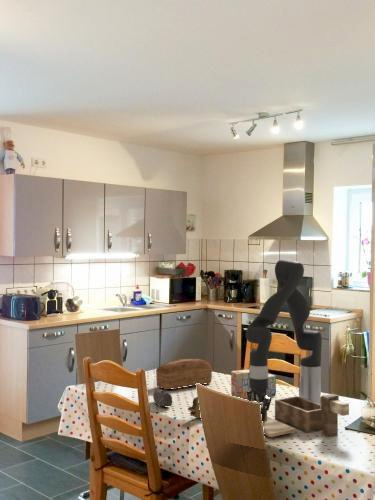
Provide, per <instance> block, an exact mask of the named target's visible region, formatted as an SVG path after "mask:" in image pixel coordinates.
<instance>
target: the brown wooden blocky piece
mask: <svg viewBox="0 0 375 500" xmlns="http://www.w3.org/2000/svg"><path fill="white" fill-rule="evenodd" d="M329 399H336V400H339V395H338V394H334V393H330V394H324V395H321V408H320V404H318V403H315V402H312V401H309V400H306V399H304V398H301V397H299V395H298V396H297V395H296V396H292V397H285V398H279V399H274V420H276V421H279V422H281V423H283V424H286V425H288V426H290V427H293V428H295V429H296V430H300V431H302V432H303V433H306V434H309V433H313V432H318V431H322V432H321V435H322V436H324V437H326V438H330V437H335V436H338V435H339V434H338V431H339V429H338V428H339V424H338V422H339V421H338V418H339V417H338V415H339V414H336V413H334V412H331V411H329ZM339 401H340V400H339Z"/></svg>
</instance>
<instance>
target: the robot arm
mask: <svg viewBox="0 0 375 500" xmlns="http://www.w3.org/2000/svg"><path fill="white" fill-rule="evenodd" d="M274 275H275V279H276V281H277V283H278V285H279V288H280V289H279V290H277V291H276V292H275V293H274V294H272V295H271V296H270V297H268V299H266V301H265V302H264V304H263V306H262V308H261V310H260V312H259V314H258V315H257V316H256V317H255V318H254V319H253V321H251V322H250V324H249V325H248V326H247V328H246V332H245V338H246V340H247V341H248V342H249V343H252V344H256V345H257V348H255V349H251V351H249V369H248V370H249V387H250V388H251V391H247V397H248V398H247V401H248V400H249V401H254V402H258V403H260V405H261V406H263V407H261V414H262V421H264V420H265V411H267V412H268V411H269V409H270V406H271V401H272V397H269V396H267V393H266V389H267V388H268V374H269V367H268V361H269V360H268V358H269V357H268V355H269V351H270V348H271V347H270V346H271V345H272V340H273V339H272V338H273V337H272V336H273V335H272V331H271V330H270V328H268V327H270V326H273V325H274V324H275V322H276V321H277V318H278V317H279V315H280V313H281V310H282V308H283V307H284V305H285V304H286V308H287V310H288V313H289V317H290V319H291V323H292V327H293V331H294V336H295V341H296V345H297V347H298V349H299V350H302V351H310V352H311V355H309V356H304V357H302V358H300V360H299V361H300V362H299V363H300V365H299V366H300V369H299V370H300V372H299V375H300V377H299V378H300V379H299V381H298V397H301V398H304V399H306V400H309V401H312V402H315V403H318V404H320V397H321V396H322V390H321V389H322V388H321V387H322V381H321V380H322V379H321V377H322V375H321V374H322V371H321V369H322V367H321V365H322V364H321V363H322V361H321V360H322V345H323V338H322V337H323V336H322V333H321V331H319V330H310V329H309V330H308V329H305V328H304V325H305V323H306V322H307V320H308V318H309V317H310V314H311V308H310V305H309V302H308V299H307V297H306V295H304V293H303V292H302V291H301V290H300V289H299V288H298V286H299V284H300V283H301V281H302V279H303V277H304V275H305V267H304V265H303V264H302V262H299V261H293V260H288V259H280V260H278V261H276V264H275V265H274ZM249 401H248V402H249Z"/></svg>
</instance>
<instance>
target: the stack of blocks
mask: <svg viewBox="0 0 375 500" xmlns="http://www.w3.org/2000/svg"><path fill="white" fill-rule="evenodd" d="M230 386H231V387H230V392H231V393H230V394H231V395H232V396H236V397H240V398H242V399H248V397H247V391H251V388H250V387H249V369H239V370H231V371H230ZM266 393H267V395H269V396H273V395H272V394H276V395H277V376H276V375H275V374H271V373H268V388H267V389H266ZM232 396H231V397H232Z"/></svg>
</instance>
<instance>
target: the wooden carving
mask: <svg viewBox="0 0 375 500" xmlns="http://www.w3.org/2000/svg"><path fill="white" fill-rule="evenodd" d="M187 410H188V411H190V412H189V415H190V416H192V417H194V418H196V419H199V418H200V410H199V403H198V397H197V396H196V397H194V398H193V400H192V406H189V407H188V408H187Z"/></svg>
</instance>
